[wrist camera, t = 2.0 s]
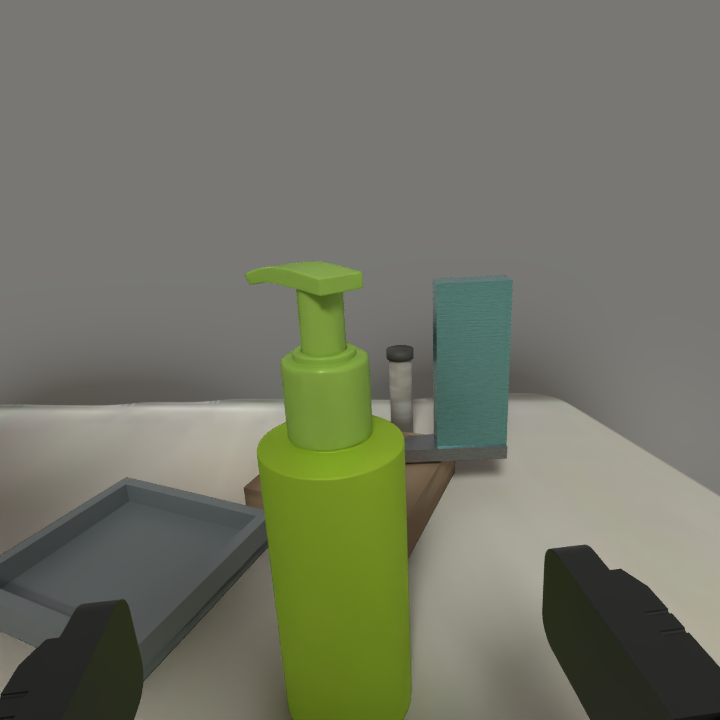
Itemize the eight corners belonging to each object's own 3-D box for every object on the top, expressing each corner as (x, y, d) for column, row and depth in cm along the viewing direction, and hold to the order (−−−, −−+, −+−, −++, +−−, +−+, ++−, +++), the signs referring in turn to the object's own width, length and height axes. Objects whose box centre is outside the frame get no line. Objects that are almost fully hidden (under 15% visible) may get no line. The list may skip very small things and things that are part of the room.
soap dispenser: (346, 610, 30) (319, 252, 24) (437, 692, 25) (434, 262, 19) (253, 671, 26) (195, 269, 20) (338, 781, 21) (293, 287, 15)
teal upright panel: (328, 472, 38) (313, 292, 34) (331, 446, 42) (318, 282, 38) (509, 465, 38) (516, 282, 34) (496, 439, 42) (501, 273, 38)
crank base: (248, 523, 38) (233, 411, 35) (352, 424, 53) (347, 341, 51) (405, 563, 33) (401, 437, 31) (470, 441, 48) (471, 350, 46)
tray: (-37, 613, 31) (-47, 584, 30) (131, 500, 42) (126, 477, 41) (133, 691, 26) (125, 658, 25) (276, 538, 36) (272, 512, 36)
